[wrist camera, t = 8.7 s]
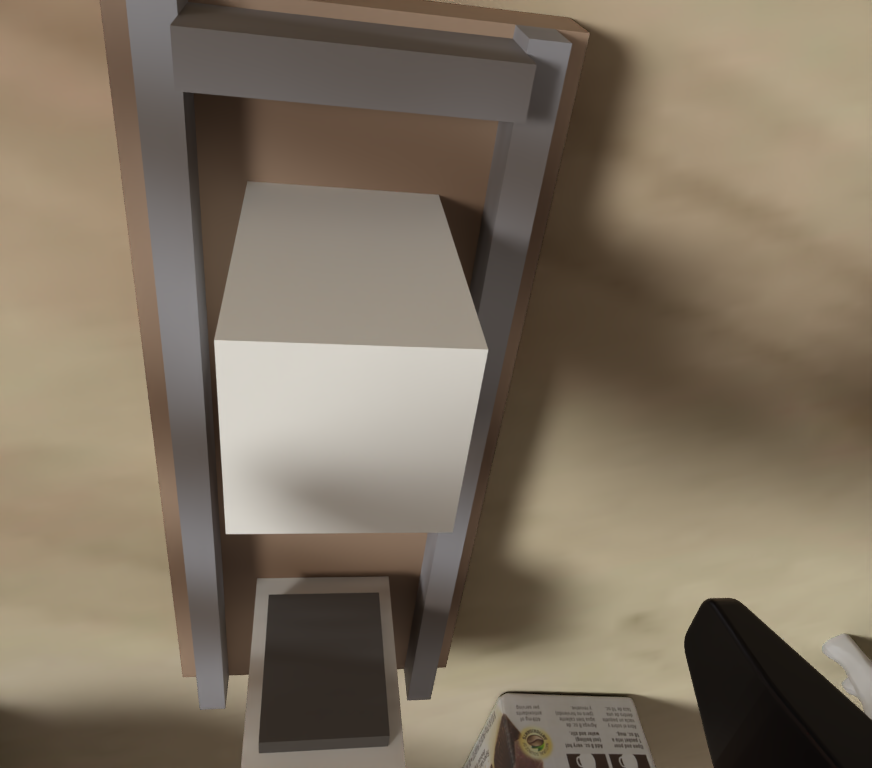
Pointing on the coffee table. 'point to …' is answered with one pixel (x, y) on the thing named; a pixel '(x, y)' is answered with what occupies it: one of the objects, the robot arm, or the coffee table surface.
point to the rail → (205, 284)
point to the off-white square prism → (345, 364)
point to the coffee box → (561, 733)
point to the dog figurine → (852, 668)
